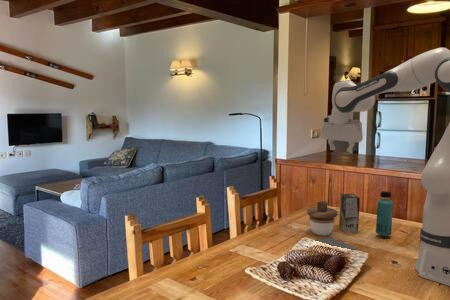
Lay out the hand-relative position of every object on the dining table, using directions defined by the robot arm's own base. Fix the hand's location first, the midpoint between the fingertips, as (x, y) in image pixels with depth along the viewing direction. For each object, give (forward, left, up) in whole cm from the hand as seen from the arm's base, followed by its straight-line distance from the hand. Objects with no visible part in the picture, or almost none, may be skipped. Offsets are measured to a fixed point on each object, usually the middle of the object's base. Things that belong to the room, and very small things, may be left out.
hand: (340, 151), depth 165 cm
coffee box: (+1, -8, -37) cm, 38 cm away
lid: (+3, +7, -28) cm, 29 cm away
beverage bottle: (-13, -14, -37) cm, 42 cm away
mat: (-10, +16, -37) cm, 41 cm away
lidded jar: (+3, +7, -37) cm, 38 cm away
